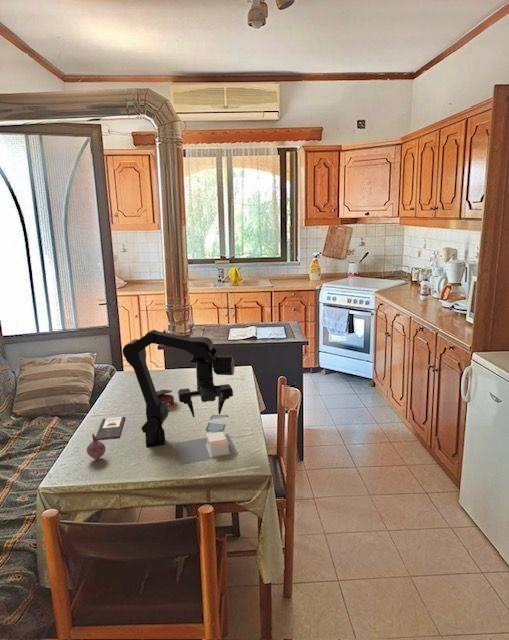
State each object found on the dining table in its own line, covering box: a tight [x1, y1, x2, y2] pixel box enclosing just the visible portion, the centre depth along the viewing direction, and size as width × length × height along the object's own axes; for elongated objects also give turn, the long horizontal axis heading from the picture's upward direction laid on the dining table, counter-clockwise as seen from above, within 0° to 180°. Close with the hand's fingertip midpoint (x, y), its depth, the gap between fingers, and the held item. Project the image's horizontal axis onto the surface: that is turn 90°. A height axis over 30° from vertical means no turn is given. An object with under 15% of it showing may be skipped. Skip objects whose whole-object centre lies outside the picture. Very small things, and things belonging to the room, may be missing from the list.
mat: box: [174, 433, 239, 465], centre depth 166 cm, size 20×16×1 cm
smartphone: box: [205, 414, 229, 433], centre depth 186 cm, size 7×1×15 cm
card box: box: [206, 431, 229, 456], centre depth 165 cm, size 9×6×4 cm, turn 15°
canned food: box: [156, 389, 175, 409], centre depth 207 cm, size 11×10×10 cm
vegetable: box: [86, 433, 107, 460], centre depth 161 cm, size 6×6×10 cm
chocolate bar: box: [95, 416, 126, 440], centre depth 186 cm, size 9×1×18 cm
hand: (206, 415), depth 166 cm, fingers open, 9 cm apart
